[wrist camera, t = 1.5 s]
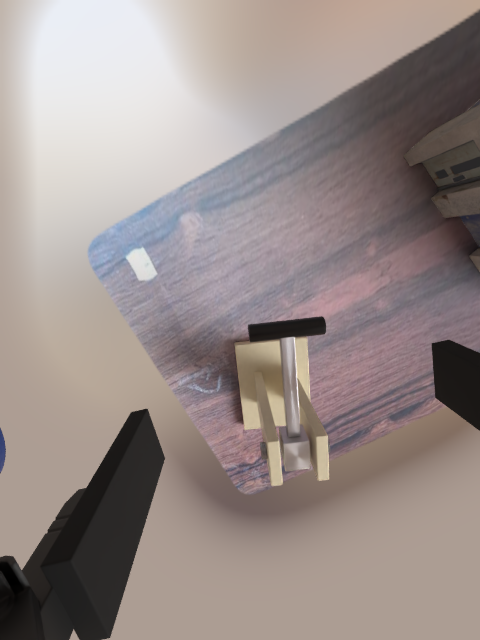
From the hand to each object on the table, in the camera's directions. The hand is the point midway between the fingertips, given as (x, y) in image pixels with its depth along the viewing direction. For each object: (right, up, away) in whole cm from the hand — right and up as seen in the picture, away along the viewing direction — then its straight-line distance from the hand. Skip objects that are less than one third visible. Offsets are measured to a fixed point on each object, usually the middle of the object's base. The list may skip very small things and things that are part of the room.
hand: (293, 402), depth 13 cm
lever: (+2, -2, +13) cm, 13 cm away
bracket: (+2, -4, +25) cm, 26 cm away
